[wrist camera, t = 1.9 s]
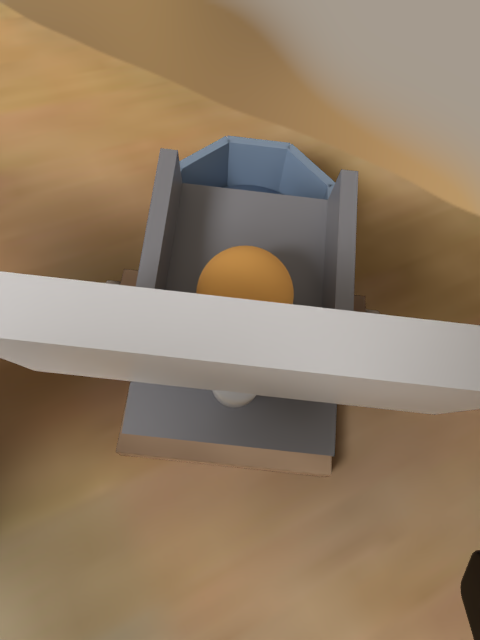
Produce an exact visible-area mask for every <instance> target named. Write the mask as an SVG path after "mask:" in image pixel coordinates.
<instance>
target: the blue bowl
mask: <svg viewBox="0 0 480 640" xmlns="http://www.w3.org/2000/svg"><path fill="white" fill-rule="evenodd" d="M179 163H180V170H181V177H182V183H187V184H196V185H205V186H213V187H222V188H230V189H239V190H248V191H256V192H265V193H273V194H282V195H291V196H299V197H308V198H317V199H325V200H328V198H329V196H330V194H331V192H332V189H333V187H334V185H335V182H334V181H333V180H332V179H331V178H330V177H328V176H327V175H326V174H325V173H324V172H323V171H322V170H321V169H320V168H318V167H317V166H316V165H315V164H314V163H313V162H312V161H311V160H309V159H308V158H307V157H306V156H305V155H304V154H303V153H302V152H301V151H299V150H298V149H297V148H296V147H295V146H294V145H293V144H291V145H290V143H286V142H277V141H269V140H260V139H252V138H243V137H235V136H228V137H226V136H225V137H223V138H221V139H219V140H218V141H216V142H214V143H212V144H210V145H208V146H207V147H205V148H203V149H201V150H199V151H198V152H196V153H194V154H192V155H190V156H188V157H187V158H185V159H183V160H181V161H179Z"/></svg>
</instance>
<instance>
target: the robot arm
mask: <svg viewBox="0 0 480 640" xmlns="http://www.w3.org/2000/svg"><path fill="white" fill-rule="evenodd" d="M461 596H462V600H463V603H464V607H465V610H466V614H467V617H468V621H469V624H470V627H471V631H472V634H473V638H474V640H480V550H477V551H475V552H474V553H473V554H472V555H471V558H470V560H469V563H468V566H467V568H466V571H465V573H464V576H463V578H462V581H461Z"/></svg>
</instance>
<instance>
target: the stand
mask: <svg viewBox="0 0 480 640" xmlns="http://www.w3.org/2000/svg"><path fill="white" fill-rule="evenodd" d="M137 276H138V270H129V269H124V271H123V275H122V279H121V282H119V281H110V280H108V281H107V282H106V283H107V284H116V285H125V286H134V287H136V282H137ZM353 311H356V312H365V313H374V314H380V312H379V311H376V310H367V309H366V306H365V296H359V295H354V310H353ZM129 387H130V386H129ZM128 393H129V391H128ZM127 399H128V395H127ZM126 405H127V400H126ZM126 405H125V410H126ZM125 410H124V414H123V419H122V424H121V429H120V434H119V438H118V443H117V448H116V453H118V454H119V455H125V456H134V457H144V458H153V459H162V460H172V461H181V462H190V463H200V464H209V465H218V466H228V467H237V468H246V469H256V470H265V471H274V472H284V473H293V474H302V475H312V476H321V477H328V476H330V475H331V456H327V455H317V454H308V453H299V452H289V451H280V450H271V449H262V448H252V447H243V446H234V445H224V444H215V443H206V442H197V441H187V440H178V439H169V438H160V437H150V436H141V435H132V434H122V428H123V422H124V416H125Z"/></svg>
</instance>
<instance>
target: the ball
mask: <svg viewBox="0 0 480 640" xmlns="http://www.w3.org/2000/svg"><path fill="white" fill-rule="evenodd" d="M196 294H205V295H214V296H223V297H232V298H241V299H249V300H258V301H267V302H276V303H285V304H293V299H294V289H293V283H292V280H291V277H290V275H289V272H288V271H287V269H286V267H285V266H284V265H283V263H282V262H281V261H280V260H279V259H278V258H277V257H276V256H274V255H273V254H272V253H270V252H268V251H266V250H264V249H262V248H259V247H254V246H236V247H232V248H228V249H226V250H224V251H222V252H220V253H219V254H217V255H216V256H214V257H213V258H212V259H211V260H210V261H209V262H208V263H207V265H206V266H205V267H204V269H203V271H202V273H201V275H200V277H199V280H198V284H197V291H196Z"/></svg>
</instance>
